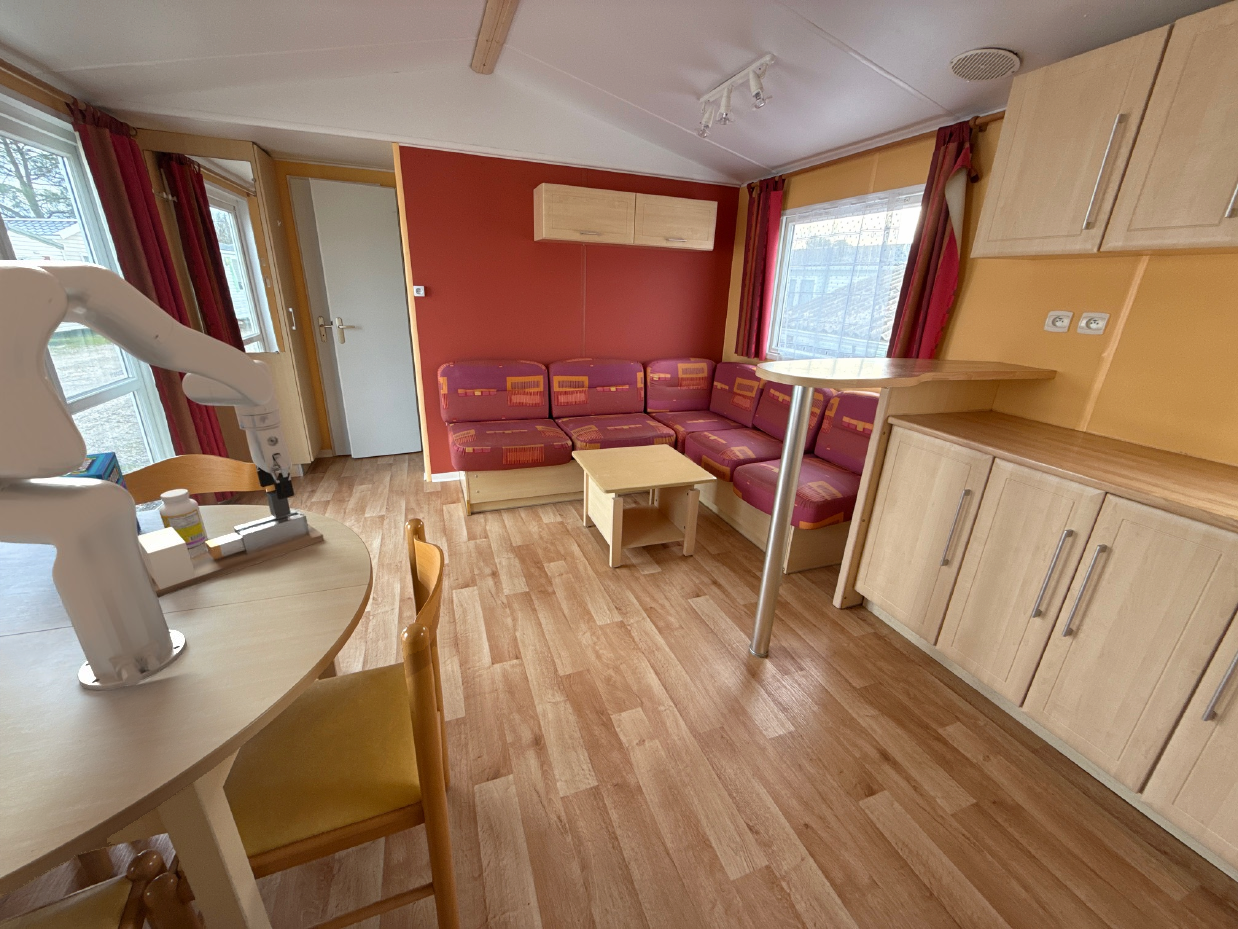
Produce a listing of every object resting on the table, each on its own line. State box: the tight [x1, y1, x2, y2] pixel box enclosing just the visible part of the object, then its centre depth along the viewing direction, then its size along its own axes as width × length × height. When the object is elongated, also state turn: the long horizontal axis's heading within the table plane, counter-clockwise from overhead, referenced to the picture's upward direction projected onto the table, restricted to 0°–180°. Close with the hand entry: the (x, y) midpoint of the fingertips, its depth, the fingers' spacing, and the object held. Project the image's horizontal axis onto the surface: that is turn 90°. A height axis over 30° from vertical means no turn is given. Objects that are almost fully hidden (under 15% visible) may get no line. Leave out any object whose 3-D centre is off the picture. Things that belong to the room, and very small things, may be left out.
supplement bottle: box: [158, 488, 208, 550], centre depth 112 cm, size 7×7×13 cm
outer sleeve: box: [233, 508, 310, 555], centre depth 112 cm, size 6×12×5 cm, turn 142°
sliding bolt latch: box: [204, 489, 291, 560], centre depth 109 cm, size 4×17×10 cm, turn 142°
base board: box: [149, 523, 325, 598], centre depth 108 cm, size 10×30×2 cm, turn 142°
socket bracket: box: [138, 527, 196, 589], centre depth 98 cm, size 10×6×8 cm, turn 52°
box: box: [59, 451, 142, 536], centre depth 107 cm, size 17×9×20 cm, turn 37°
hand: (277, 491), depth 112 cm, fingers open, 9 cm apart
